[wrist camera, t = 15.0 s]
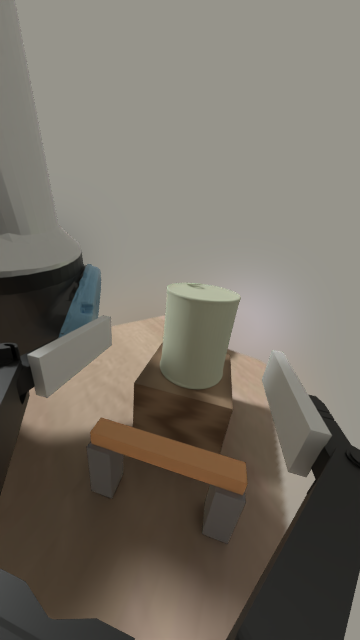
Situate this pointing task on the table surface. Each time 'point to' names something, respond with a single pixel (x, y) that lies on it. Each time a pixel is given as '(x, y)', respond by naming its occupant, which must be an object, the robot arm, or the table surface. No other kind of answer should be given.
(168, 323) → the can
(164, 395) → the walnut stand
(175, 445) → the terracotta bar
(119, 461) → the hurdle posts
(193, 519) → the table surface
